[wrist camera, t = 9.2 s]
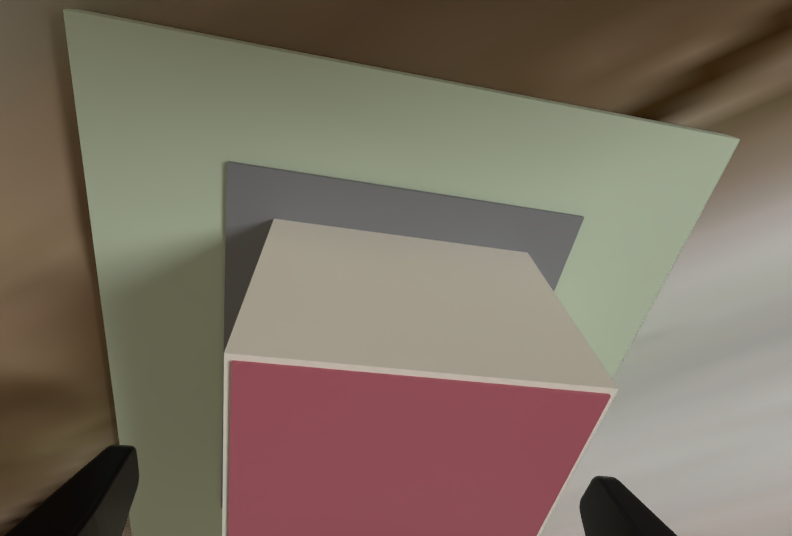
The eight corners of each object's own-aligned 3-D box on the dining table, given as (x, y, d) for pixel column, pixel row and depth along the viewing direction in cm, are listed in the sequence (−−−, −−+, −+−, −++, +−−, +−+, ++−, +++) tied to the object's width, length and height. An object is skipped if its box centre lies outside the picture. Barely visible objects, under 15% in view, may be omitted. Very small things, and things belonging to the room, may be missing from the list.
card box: (441, 495, 14) (470, 665, 10) (257, 486, 13) (220, 667, 9) (527, 252, 10) (620, 391, 6) (273, 218, 9) (222, 355, 6)
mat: (726, 134, 10) (743, 141, 9) (514, 545, 16) (518, 560, 16) (75, 8, 8) (59, 9, 7) (137, 530, 14) (131, 546, 14)
